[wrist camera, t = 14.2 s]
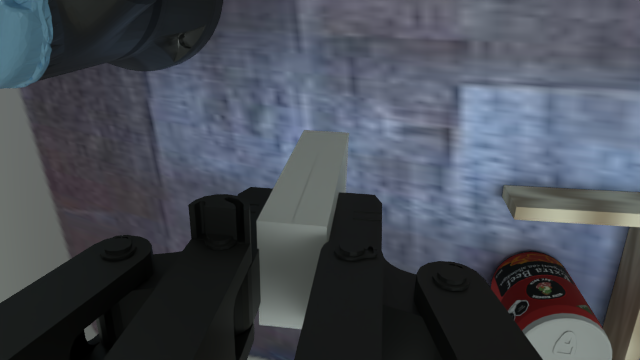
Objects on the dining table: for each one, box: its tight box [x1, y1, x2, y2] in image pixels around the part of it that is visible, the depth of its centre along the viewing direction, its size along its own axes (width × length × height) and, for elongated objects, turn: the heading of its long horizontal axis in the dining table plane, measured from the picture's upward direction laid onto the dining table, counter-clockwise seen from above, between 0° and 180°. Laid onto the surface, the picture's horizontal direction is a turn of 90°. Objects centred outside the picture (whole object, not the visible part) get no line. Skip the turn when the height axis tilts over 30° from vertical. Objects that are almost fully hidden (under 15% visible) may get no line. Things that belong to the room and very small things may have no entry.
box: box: [502, 185, 640, 360], centre depth 47 cm, size 13×20×5 cm, turn 0°
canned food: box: [491, 252, 612, 360], centre depth 44 cm, size 8×8×11 cm
